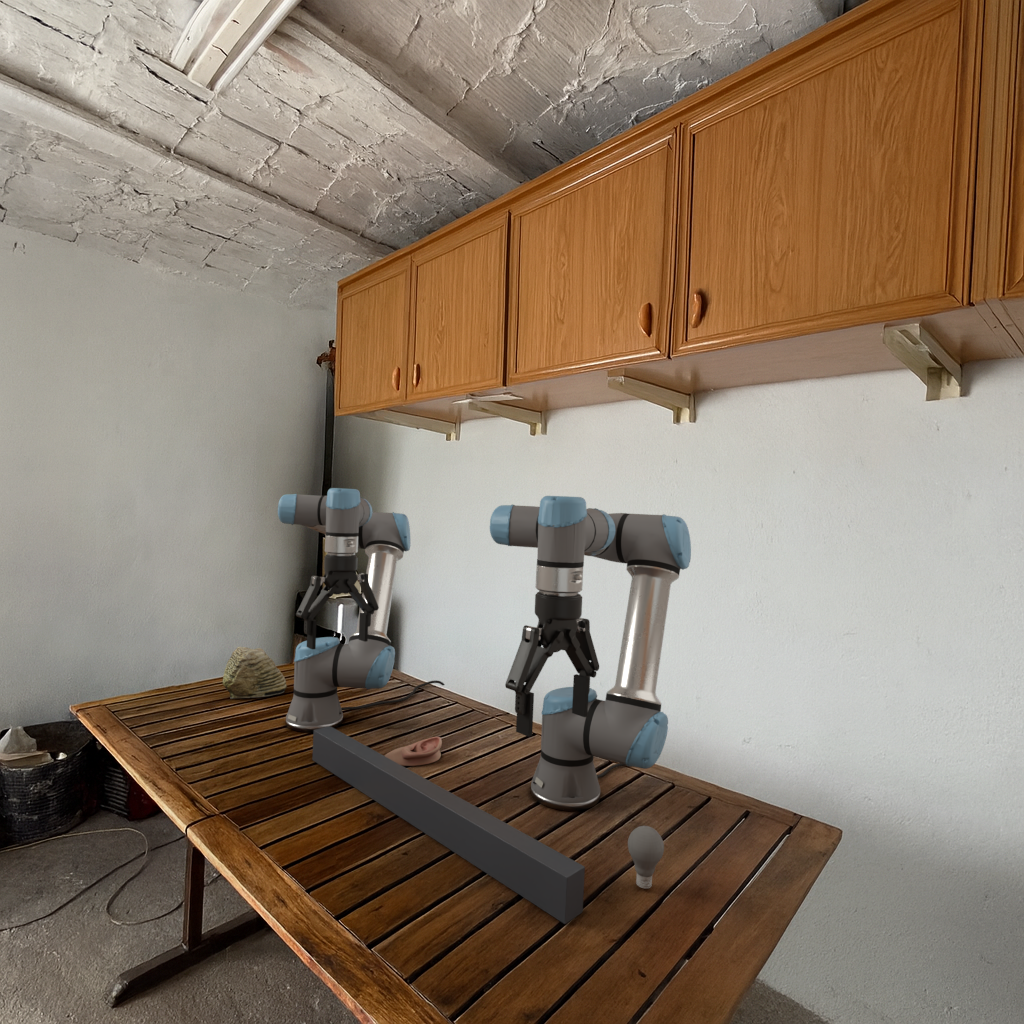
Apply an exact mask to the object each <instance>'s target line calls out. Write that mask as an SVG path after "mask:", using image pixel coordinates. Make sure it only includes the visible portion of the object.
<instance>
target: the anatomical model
mask: <svg viewBox="0 0 1024 1024" xmlns="http://www.w3.org/2000/svg"><path fill="white" fill-rule="evenodd" d="M442 740H443V739H442V737H441V736H433V737H428V738H425V739H422V740H419V741H417V742H414V743H412V744H409V745H405V746H401V747H398V748H395V749H393V750H391V751H389V752H387V753H385V755H384V756H385V757H387V758H389V759H391V760H392V761H394V762H396V763H398V764H400V765H401V766H403V767H411V766H413V767H415V766H423V765H429V764H432V763H435V762H437V761H438V760H440V759H441V755H442V753H441V751H440V750H441V748H442V744H443V741H442Z"/></svg>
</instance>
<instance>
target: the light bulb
mask: <svg viewBox="0 0 1024 1024" xmlns="http://www.w3.org/2000/svg"><path fill="white" fill-rule="evenodd" d="M627 849H628V852H629V855H630V857H631V859H632V861H633V863H634V870H635V872H636V877H635V879H636V880H635V884H636V886H638V887H639V888H641V889H644V890H647V889H650V888H651V887H652V886H653V875H654V874H655V871H656V867H657V865H658V864H659V862H660V861H661V860H662V858H663V856H664V852H665V843H664V840H663V838H662V836H661V834H660V833H659V832H658V831H657V830H656V829H655V828H653V827H652V826H650V825H649V826H648V825H640V826H638V827H636V828H634V829H633V830H632V831H631V832H630V834H629V836H628V839H627Z"/></svg>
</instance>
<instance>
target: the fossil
mask: <svg viewBox="0 0 1024 1024" xmlns="http://www.w3.org/2000/svg"><path fill="white" fill-rule="evenodd" d="M222 676H223V677H222V685H223V687H224V688H225V690H226V691H228V693H229V698H230V699H250V698H264V697H271V696H275V695H281V694H284V693H285V691H286V689H287V687H288V686H287V680H286V678H285V676H284V674H283V673H282V672H281V669H279V668H278V667H277V665H276V663H275V662H274V660H273V659H272V658H271V657H270V656H269V655H268V654H267V653H266V652H265V650H264V649H263V648H260V647H258V648H251V647H247V646H246V647H245V646H238V647H237V648H236V649H235V650H233V651H232V653H231V656H230V657H229V659H228V660H227V663H226V666H225V668H224V671H223V675H222Z"/></svg>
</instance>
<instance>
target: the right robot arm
mask: <svg viewBox="0 0 1024 1024" xmlns="http://www.w3.org/2000/svg"><path fill="white" fill-rule="evenodd" d="M489 532H490V537H491V539H492V540H493V541H494V543H496V544H498V545H503V546H507V547H520V548H535V549H537V559H536V570H535V589H536V590H538V591H537V592H536V593H535V594H534V615H535V616H536V617H537V619H538V621H537V625H536V626H531V625H527V624H525V625H524V626H523V627H522V634H521V641H520V643H519V646H518V648H517V651H516V654H515V657H514V660H513V662H512V665H511V668H510V670H509V673H508V676H507V678H506V681H505V688H506V689H507V690H510V691H513V692H514V694H515V695H514V696H515V698H514V699H515V700H514V701H515V702H514V712H515V714H516V721H515V722H516V724H515V732H516V733H518V734H521V735H523V736H526V737H528V738H530V737H533V729H534V728H533V724H534V701H535V693H534V692H532V691H531V690H532V688H533V687H534V685H535V683H536V682H537V680H538V677H539V676H540V674H541V672H542V670H543V669H544V667H545V664H546V663H547V660H548V659H549V658H551V657H552V656H553V655H554V653H558V652H560V651H564V652H565V653H566V655H567V657H568V659H569V660H570V662H571V664H572V665H573V667H574V669H575V671H576V672H577V673H576V674H573V680H572V681H573V683H572V684H573V686H565V687H558V688H555V689H551V690H550V691H548V692H546V694H545V695H544V697H543V703H542V710H541V738H540V758H539V761H538V764H537V765H536V767H535V768H536V769H535V771H534V774H533V777H532V779H531V783H530V795H531V797H532V799H534V801H536V802H537V803H538V804H540V805H543V806H545V807H547V808H550V809H554V810H559V811H566V812H567V811H569V812H571V811H572V812H574V811H575V812H577V811H583V810H588V809H591V808H593V807H595V806H596V805H597V804H598V803H599V802H600V800H601V785H600V782H599V779H601V778H602V777H604V776H605V775H607V774H608V773H609V772H610V771H612V770H613V769H615V768H619V767H635V768H638V769H643V770H645V769H650V768H652V767H653V766H654V765H655V764H656V763H657V762H658V760H659V758H660V757H661V754H662V752H663V749H664V746H665V743H666V739H667V735H668V732H669V726H668V725H669V717H668V715H667V714H666V713H664V711H662V702H661V700H660V698H659V697H658V696H657V693H656V692H657V685H658V680H659V679H658V678H659V671H660V664H661V657H662V650H663V643H664V634H665V628H666V623H667V622H666V620H667V614H668V606H669V600H670V593H671V587H672V586H671V585H672V584H673V583H674V582H675V581H677V580H679V578H680V572H681V570H682V571H683V570H687V569H688V568H689V567H690V563H691V559H692V558H691V557H692V545H691V544H692V543H691V535H690V531H689V527H688V524H687V523H686V521H685V520H684V519H683V518H682V517H681V516H676V515H675V516H673V515H667V514H665V513H664V514H646V513H627V512H616V513H615V512H614V513H607V511H605V510H602V509H599V508H596V507H595V508H591V507H588V508H587V501H586V499H585V498H584V497H582V496H569V495H567V496H566V495H545V496H543V497H542V498H541V499H540V501H539V506H535V505H534V506H533V505H515V504H501V505H499V506H497V507H496V508H495V509H493V511H492V513H491V516H490V520H489ZM585 556H587V557H594V558H597V559H600V560H601V559H602V560H604V561H608V562H612V563H613V562H614V563H619V564H626V571H627V573H628V574H629V576H630V577H631V582H630V588H629V593H628V601H627V607H626V614H625V619H624V627H623V633H622V639H621V645H620V652H619V658H618V664H617V670H616V677H615V683H614V686H613V687H611V688H610V689H608V690H607V691H606V694H605V700H602V699H599V698H598V693H597V691H596V689H593V688H591V678H593V679H594V678H596V677H597V672H598V671H599V670H600V663H599V659H598V657H597V652H596V648H595V646H594V642H593V639H592V634H591V626H590V624H591V623H590V619H588V618H584V617H582V613H583V596H582V595H581V592H582V591H583V587H584V584H583V583H584V566H585V565H584V564H585V562H584V561H585ZM594 757H596V758H599V759H602V760H607V761H611V762H613V763H616V764H612V765H611V766H609V767H607V769H605V770H604V771H603V772H602V773H600V774H597V771H596V766H595V763H594Z"/></svg>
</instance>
